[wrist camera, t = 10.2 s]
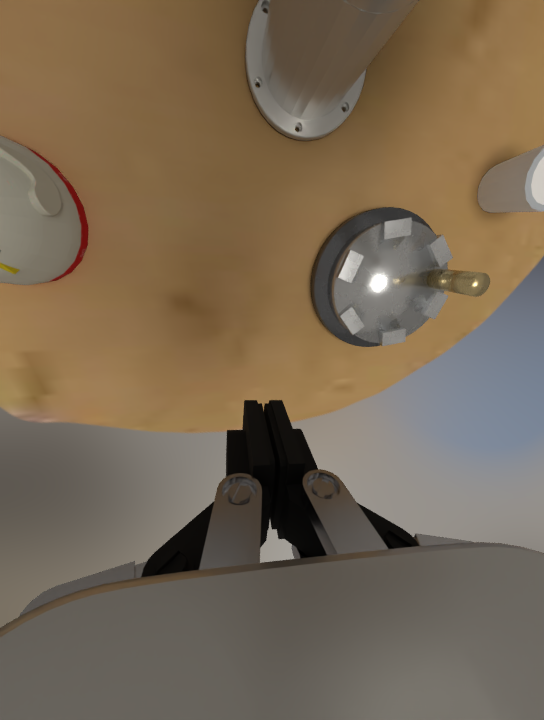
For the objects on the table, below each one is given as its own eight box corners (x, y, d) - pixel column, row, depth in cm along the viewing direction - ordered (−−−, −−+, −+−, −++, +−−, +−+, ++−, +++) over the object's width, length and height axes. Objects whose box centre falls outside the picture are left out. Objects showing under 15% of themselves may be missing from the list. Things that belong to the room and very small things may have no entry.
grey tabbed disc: (330, 345, 39) (360, 372, 30) (323, 231, 33) (357, 225, 24) (427, 326, 40) (481, 347, 31) (437, 213, 34) (507, 201, 26)
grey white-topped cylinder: (463, 202, 36) (513, 192, 30) (496, 146, 34) (558, 122, 28) (496, 227, 38) (551, 222, 32) (530, 175, 36) (595, 159, 30)
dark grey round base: (326, 196, 33) (333, 193, 31) (450, 223, 37) (463, 221, 35) (299, 336, 40) (303, 341, 38) (407, 347, 43) (416, 352, 41)
